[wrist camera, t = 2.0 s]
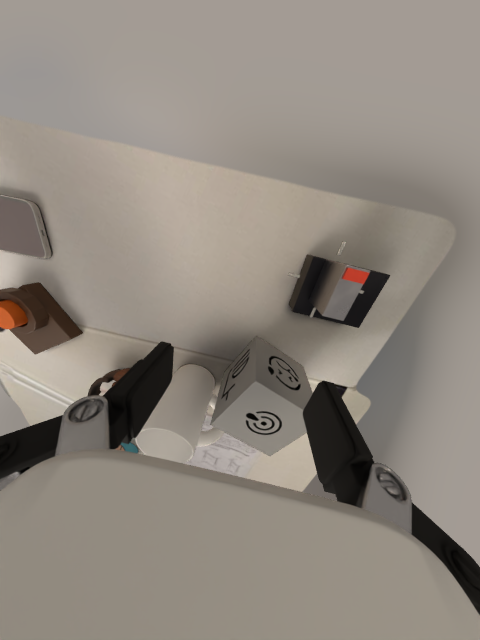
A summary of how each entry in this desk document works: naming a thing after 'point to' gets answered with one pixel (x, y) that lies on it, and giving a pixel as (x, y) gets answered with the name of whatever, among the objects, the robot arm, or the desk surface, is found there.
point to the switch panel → (307, 284)
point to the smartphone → (22, 228)
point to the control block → (40, 318)
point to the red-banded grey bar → (337, 288)
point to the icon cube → (263, 398)
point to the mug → (181, 417)
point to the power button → (11, 315)
